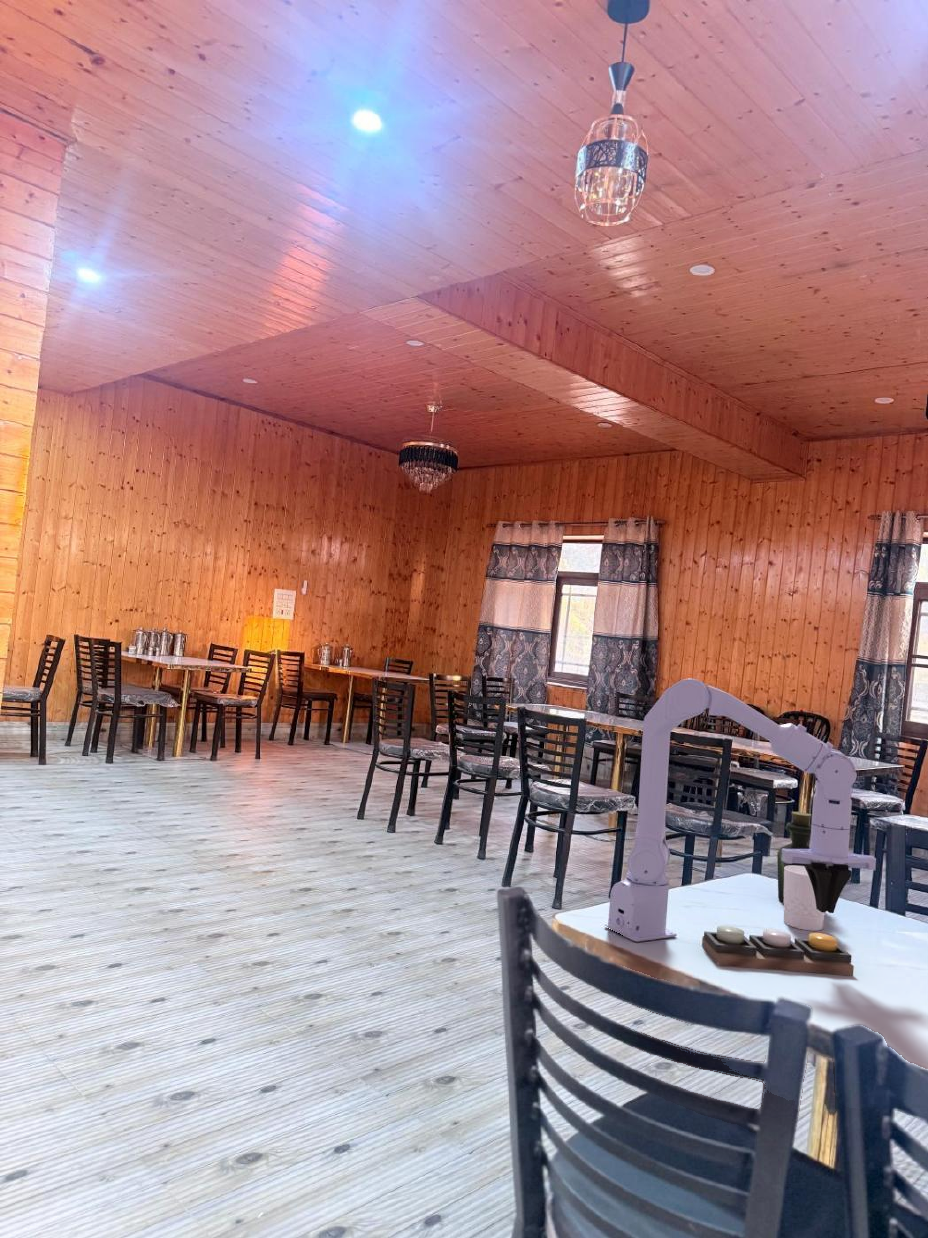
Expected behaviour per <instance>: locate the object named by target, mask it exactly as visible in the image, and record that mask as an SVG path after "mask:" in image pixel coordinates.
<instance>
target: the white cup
mask: <svg viewBox="0 0 928 1238" xmlns="http://www.w3.org/2000/svg"><path fill="white" fill-rule="evenodd" d="M783 908H784V909H783V922H784V923H785V924H786V925H788V926H789V927H792V928H795V929H799V930H804V931H813V932H818V931H821V930H822V929H824V922H825V921H824V920H825V915H826V913H824V912H820V911H819V910H818V909H816V901H815V895H814V891H813V887H812V884H811V881H810V878H809V876H808V873H807V871H806V869H805V866H796V865H790V866H785V867H784V903H783Z"/></svg>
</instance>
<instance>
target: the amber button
mask: <svg viewBox="0 0 928 1238" xmlns="http://www.w3.org/2000/svg"><path fill="white" fill-rule="evenodd" d="M808 940H809V945H810V946H812V947H814V948H817V949H821V950H826V951H835V950H837V945H838V939H837V938H836V937H835V936H832V935H829V934H826V933H822V932H821V933H820V932H811V933H810V932H809V934H808Z"/></svg>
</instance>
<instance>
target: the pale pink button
mask: <svg viewBox="0 0 928 1238" xmlns="http://www.w3.org/2000/svg"><path fill="white" fill-rule="evenodd" d="M762 936H763V942H765V943H767V944H769V945H773V946H777V947H789V946H790V942H791V941H792V935H791V934H790V933H788V932H786V931H782V930H778V929H773V928H772V929H770V928H769V929H763V931H762Z"/></svg>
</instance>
